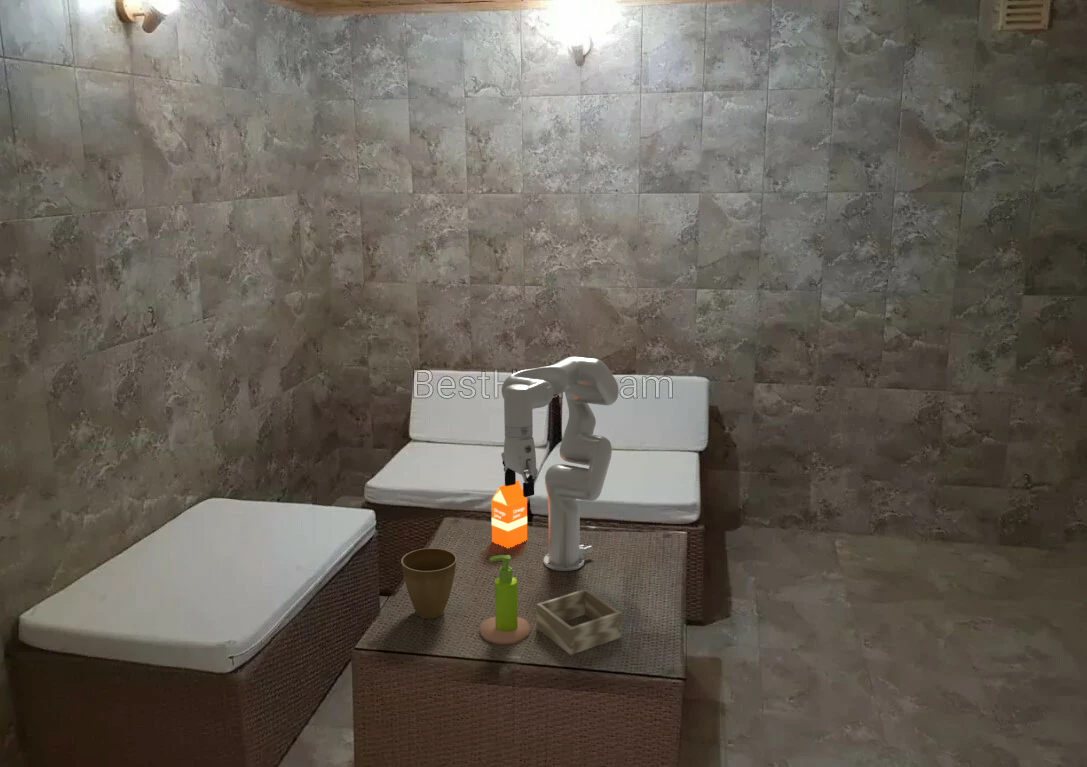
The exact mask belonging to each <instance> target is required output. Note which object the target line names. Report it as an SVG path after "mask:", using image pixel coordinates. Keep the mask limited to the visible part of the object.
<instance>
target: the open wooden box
mask: <svg viewBox="0 0 1087 767" xmlns="http://www.w3.org/2000/svg"><path fill="white" fill-rule="evenodd" d="M582 616H586V617H588V618H590V619H591V620H589V621H586V622H583V623H579V624H577V625H574V626H571V625H569V623H566V621H569V620H572V619H575V618H579V617H582ZM622 616H623V612H621V611H620V610H618V609H617V608H616V607H614V606H612V604H610V603H608V602H607V601H605V600H604V599H602V598H600V597H599V596H597V595H596V594H595V593H593V592H592V591H591V590H589V589H587V588H585V589H580V590H577V591H575V592H571V593H568V594H564V595H562V596H558V597H555V598H552V599H548V600H546V601H541V602H538V603H537V604H536V629H538V630H539V631H540V632H541V633H543V634H544V635H545V636H546V637H547V638H548V639H550V640H551V641H553V642H554V644H556V645H557V646H558V647H560V648H561V649H562V650H564V651H565V652H566V653H567V654H568V655H569V656H572V655H575V654H577V653H580V652H583V651H586V650H589V649H592V648H595V647H597V646H600V645H603V644H606V643H609V642H611V641H615V640H617V639H620V638H622V625H623V624H622V621H623V620H622V619H623V617H622Z"/></svg>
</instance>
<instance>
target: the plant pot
mask: <svg viewBox="0 0 1087 767" xmlns="http://www.w3.org/2000/svg"><path fill="white" fill-rule="evenodd" d="M457 560H458V558H457V556H456V554H454V553H453V552H452V551H450V550H447V549H443V548H436V547H431V548H430V547H427V548H420V549H416V550H412V551H410V552H408V553H406V554H404V555H403V556H402V558H401V562H400V563H401V567H402V573H403V578H404V582H405V585H406V586H405V587H406V588H407V592H408V596H409V599H410V601H411V603H412V606H413V608H414V610H415V612H416V615H417V616H418V617H419V618H421V619H427V620H431V619H437V618H439V617H441V616H442V615H443V614H444V612H445V610H446V607H447V604H448V601H449V598H450V595H451V592H452V588H453V583H454V579H455V578H454V577H455V574H456V573H455V572H456V567H457Z"/></svg>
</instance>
